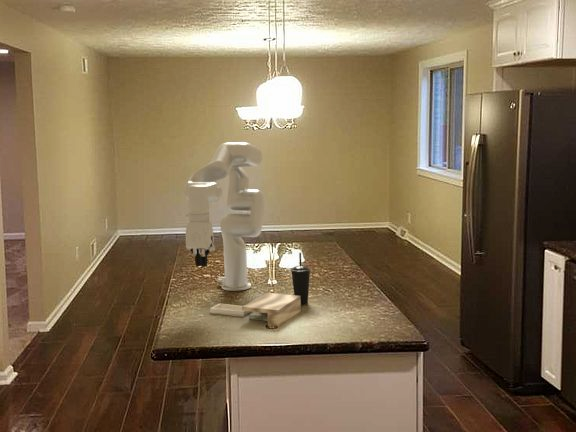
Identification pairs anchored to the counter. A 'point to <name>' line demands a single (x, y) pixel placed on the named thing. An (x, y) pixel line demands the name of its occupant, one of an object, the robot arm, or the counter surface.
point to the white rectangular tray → (229, 310)
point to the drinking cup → (301, 281)
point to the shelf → (274, 307)
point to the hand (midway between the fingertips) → (201, 265)
